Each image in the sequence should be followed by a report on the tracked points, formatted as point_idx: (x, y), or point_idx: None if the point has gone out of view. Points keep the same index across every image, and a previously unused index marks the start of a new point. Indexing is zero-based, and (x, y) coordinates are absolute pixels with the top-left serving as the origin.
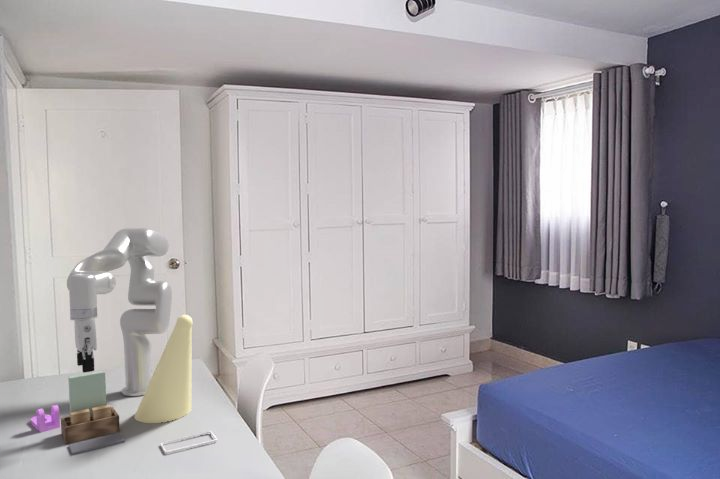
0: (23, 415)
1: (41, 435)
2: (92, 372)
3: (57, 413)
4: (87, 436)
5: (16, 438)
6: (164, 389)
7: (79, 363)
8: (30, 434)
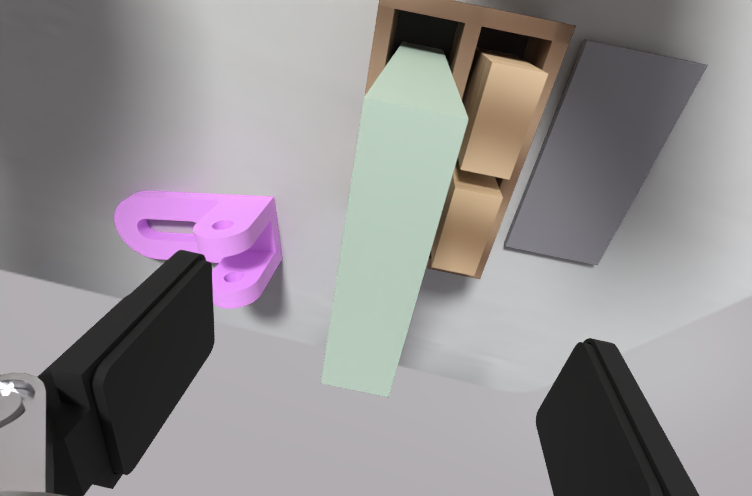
0: (56, 242)
1: (314, 265)
2: (355, 221)
3: (253, 231)
4: None
5: (284, 317)
6: None
7: (203, 352)
8: (277, 283)
